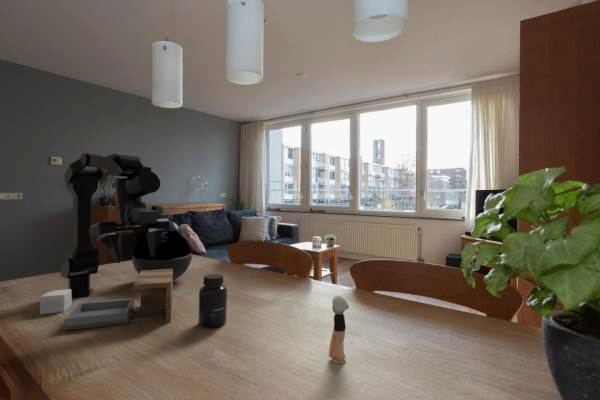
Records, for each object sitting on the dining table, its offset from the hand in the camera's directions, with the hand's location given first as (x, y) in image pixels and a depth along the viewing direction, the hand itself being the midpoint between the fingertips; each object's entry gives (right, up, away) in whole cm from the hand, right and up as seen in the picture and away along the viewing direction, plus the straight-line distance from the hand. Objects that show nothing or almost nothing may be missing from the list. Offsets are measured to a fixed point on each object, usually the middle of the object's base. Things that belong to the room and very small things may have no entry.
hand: (136, 259), depth 82 cm
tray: (-8, -15, -1) cm, 17 cm away
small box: (-25, -15, +6) cm, 30 cm away
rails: (-5, -15, +1) cm, 16 cm away
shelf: (+3, -15, +4) cm, 16 cm away
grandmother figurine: (+50, -16, -19) cm, 56 cm away
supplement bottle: (+20, -16, -2) cm, 26 cm away
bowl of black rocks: (-7, -15, +33) cm, 37 cm away
